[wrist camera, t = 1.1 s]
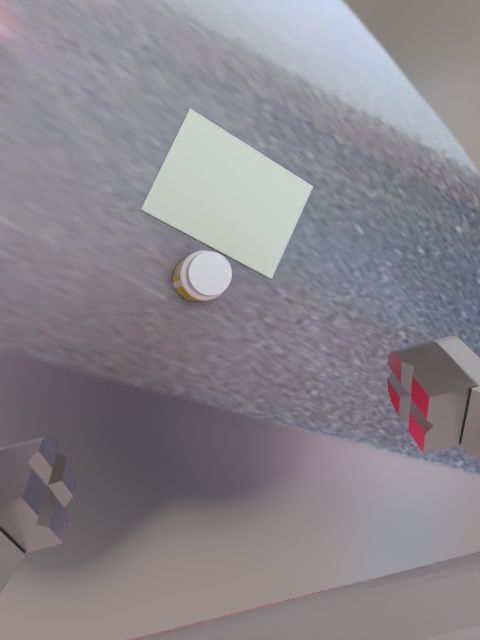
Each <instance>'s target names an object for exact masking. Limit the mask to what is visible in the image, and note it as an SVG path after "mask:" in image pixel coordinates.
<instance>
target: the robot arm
mask: <svg viewBox="0 0 480 640" xmlns="http://www.w3.org/2000/svg"><path fill="white" fill-rule="evenodd" d="M388 366H389V367H390V369H391V370H392V373H391V374H390V375H389V377H388V378H387V386H388V392H389V396H390V400H391V402H392V404H393V407H394V408H395V410H396V412H397V413H398V415H399V416H400V417H402V418H404V419H406V420H408V421H409V427H408V431H409V432H410V434H411V435H412V437H413V439H414V440H415V442H416V443H417V445H418V446H419V448H420V449H421V451H422V453H423V454H424V453H428V452H433V451H437V450H442V449H447V448H451V447H456V446H460V445H461V446H460V448H462V449H464V450H465V451H467V452H468V453H470V454H472V455H473V456H475V457H476V458H478V459H479V460H480V358H479V357H478V356H477V355H476V354H475V353H474V352H473V351H472V350H471V349H469V348H468V347H467V346H466V345H465V344H464V343H463V342H462V341H461V340H460V339H459V338H458V337H456V336H453V335H452V336H449V337H445V338H441V339H437V340H433V341H431V342H426V343H422V344H418V345H414V346H410V347H406V348H402V349H398V350H394V351H391V352H390V353H389V355H388ZM58 448H59V445H58V443H57V442H56V441H55V440H54V438H53V437H49V436H47V437H41V438H37V439H32V440H28V441H23V442H18V443H14V444H9V445H5V446H3V447H0V593H1V592H2V590H3V589H4V587H5V586H6V584H7V583H8V581H9V580H10V578H11V577H12V575H13V574H14V573H15V571H16V570H17V568H18V567H19V565H20V564H21V562H22V561H23V559H24V558H25V556H26V555H25V554H26V553H29V552H33V551H36V550H40V549H43V548H47V547H51V546H54V545H58V544H62V543H63V540H64V536H65V531H66V527H67V523H68V518H69V513H68V511H67V510H66V508H65V506H66V505H67V504H68V503H69V501H70V500H71V499H72V498H73V496H74V491H75V486H76V480H75V471H74V468H73V465H72V463H71V462H70V460H69V458H68V457H66V456H64V455H61V454H59V453H57V451H58ZM129 640H480V552H476V553H472V554H468V555H464V556H460V557H456V558H452V559H448V560H444V561H440V562H436V563H432V564H428V565H424V566H420V567H416V568H413V569H409V570H404V571H400V572H397V573H392V574H388V575H384V576H381V577H376V578H372V579H368V580H364V581H360V582H356V583H353V584H348V585H344V586H340V587H336V588H332V589H328V590H324V591H321V592H317V593H313V594H309V595H305V596H301V597H297V598H293V599H289V600H285V601H281V602H277V603H273V604H269V605H265V606H261V607H257V608H253V609H249V610H245V611H241V612H237V613H234V614H229V615H225V616H221V617H217V618H213V619H209V620H205V621H201V622H197V623H193V624H189V625H185V626H181V627H177V628H173V629H169V630H165V631H161V632H158V633H153V634H149V635H145V636H141V637H137V638H133V639H129Z"/></svg>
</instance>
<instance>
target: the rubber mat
mask: <svg viewBox="0 0 480 640" xmlns="http://www.w3.org/2000/svg"><path fill="white" fill-rule="evenodd" d="M312 188H313V186H311V185H310V184H308V183H307V182H305V181H304V180H302V179H300V178H299V177H297V176H296V175H294V174H293V173H291V172H289V171H288V170H286V169H285V168H283V167H281V166H280V165H278V164H277V163H275V162H274V161H272V160H270V159H269V158H267V157H266V156H264V155H263V154H261V153H259V152H258V151H256V150H255V149H253V148H252V147H250V146H248V145H247V144H245V143H244V142H242V141H240V140H239V139H237V138H236V137H234V136H233V135H231V134H229V133H228V132H226V131H225V130H223V129H222V128H220V127H218V126H217V125H215V124H214V123H212V122H211V121H209V120H207V119H206V118H204V117H203V116H201V115H199V114H198V113H196V112H195V111H193V110H192V109H190V110H189V112H188V114H187V116H186V118H185V120H184V122H183V124H182V126H181V128H180V130H179V132H178V134H177V136H176V138H175V140H174V142H173V145H172V147H171V149H170V151H169V153H168V155H167V157H166V159H165V161H164V163H163V165H162V167H161V169H160V171H159V173H158V175H157V177H156V179H155V181H154V183H153V185H152V187H151V190H150V192H149V194H148V196H147V198H146V200H145V202H144V204H143V206H142V208H141V211H143V212H145V213H147V214H149V215H150V216H152V217H154V218H156V219H158V220H160V221H162V222H164V223H165V224H167V225H169V226H171V227H173V228H175V229H177V230H179V231H181V232H182V233H184V234H186V235H188V236H190V237H192V238H194V239H196V240H197V241H199V242H201V243H203V244H205V245H207V246H209V247H211V248H213V249H214V250H216V251H218V252H220V253H222V254H224V255H226V256H228V257H229V258H231V259H233V260H235V261H237V262H239V263H241V264H243V265H245V266H246V267H248V268H250V269H252V270H254V271H256V272H258V273H260V274H261V275H263V276H265V277H267V278H269V279H272V277H273V275H274V272H275V270H276V268H277V266H278V264H279V261H280V259H281V257H282V255H283V252H284V250H285V248H286V246H287V243H288V241H289V239H290V237H291V235H292V232H293V230H294V228H295V226H296V223H297V221H298V219H299V217H300V215H301V212H302V210H303V208H304V206H305V203H306V201H307V199H308V197H309V194H310V192H311V190H312Z"/></svg>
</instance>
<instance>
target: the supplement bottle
mask: <svg viewBox="0 0 480 640" xmlns="http://www.w3.org/2000/svg"><path fill="white" fill-rule="evenodd" d="M231 279H232V270H231V266H230V264H229V262H228V261H227V259H226V258H225V257H224V256H222V255H221V254H219V253H217V252H212V251H205V250H202V251H197V252H194V253H192V254H190V255H189V256H187V257H186V258H185V259H183V260H182V261H180V262H179V263H178V264H177V266H176V267H175V269H174V271H173V274H172V283H173V286H174V289H175V290H176V292H177V293H178V294H179V295H180V296H181V297H182V298H184V299H186V300H189V301H208V300H212V299H215V298H217V297H218V296H220V295H221V294H222V293H223V292H224V291H225V290H226V289H227V287H228V286H229V284H230V282H231Z"/></svg>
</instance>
